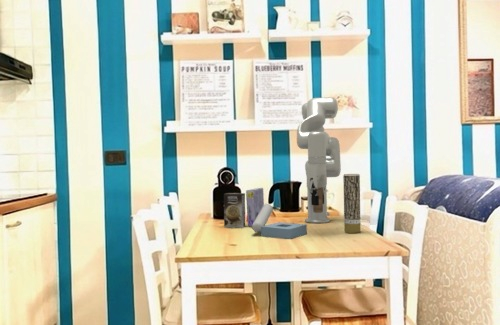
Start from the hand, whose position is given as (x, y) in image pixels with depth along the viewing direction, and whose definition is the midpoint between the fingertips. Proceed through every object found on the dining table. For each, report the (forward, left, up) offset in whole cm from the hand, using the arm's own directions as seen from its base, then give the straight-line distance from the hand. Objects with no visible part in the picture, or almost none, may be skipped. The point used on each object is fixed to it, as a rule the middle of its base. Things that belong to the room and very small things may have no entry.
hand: (317, 204), depth 195 cm
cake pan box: (-10, -40, -13) cm, 43 cm away
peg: (0, 0, -3) cm, 3 cm away
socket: (+9, -12, -13) cm, 19 cm away
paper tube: (-11, +10, -13) cm, 20 cm away
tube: (+6, -25, -9) cm, 28 cm away
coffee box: (+2, -44, -13) cm, 46 cm away
